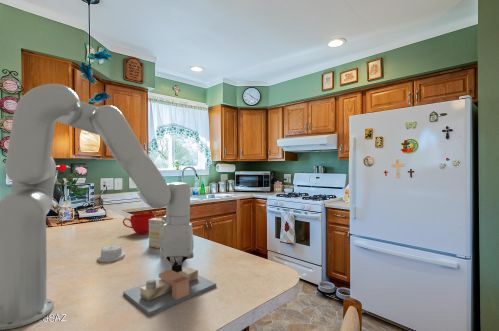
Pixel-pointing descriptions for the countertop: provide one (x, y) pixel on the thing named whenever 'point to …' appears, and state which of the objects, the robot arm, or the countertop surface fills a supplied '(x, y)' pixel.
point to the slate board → (167, 296)
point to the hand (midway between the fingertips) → (176, 275)
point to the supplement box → (155, 232)
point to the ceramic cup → (140, 222)
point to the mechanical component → (111, 254)
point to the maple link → (164, 285)
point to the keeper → (176, 283)
